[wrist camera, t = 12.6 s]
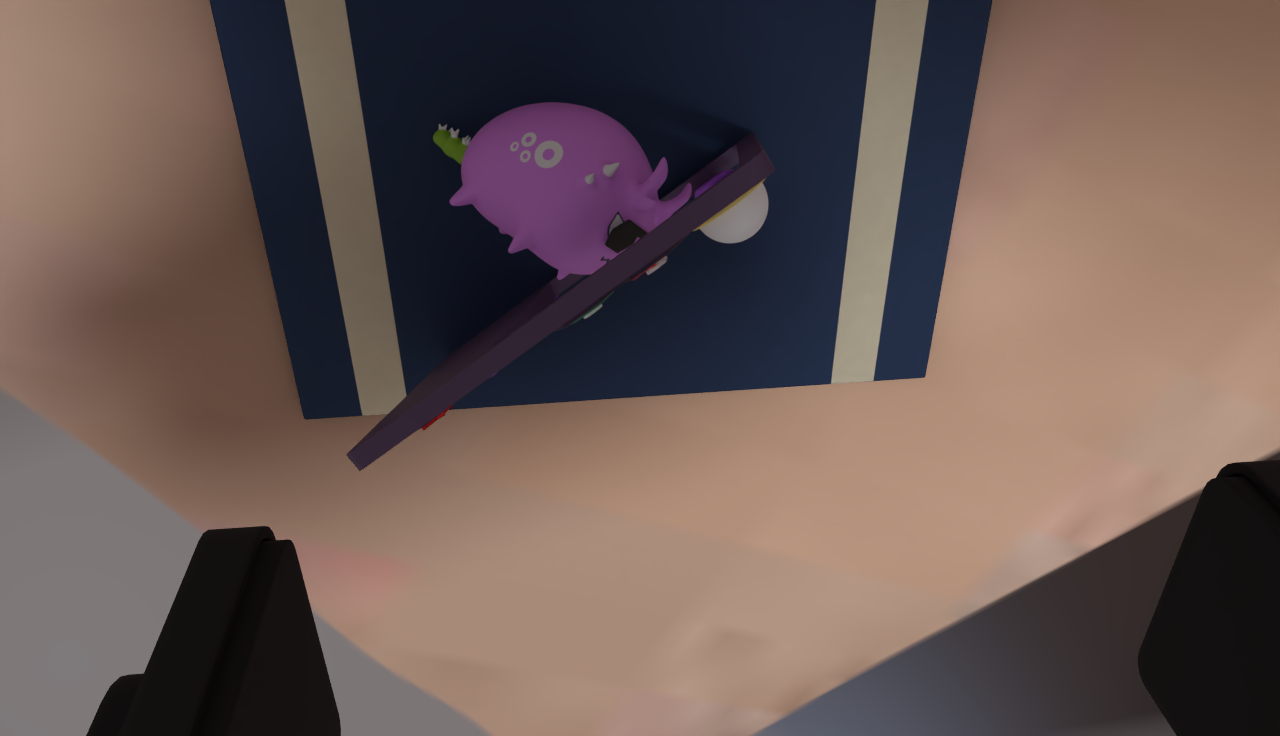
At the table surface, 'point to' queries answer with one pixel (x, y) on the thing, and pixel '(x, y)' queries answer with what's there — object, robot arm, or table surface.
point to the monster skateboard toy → (571, 231)
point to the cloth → (664, 127)
